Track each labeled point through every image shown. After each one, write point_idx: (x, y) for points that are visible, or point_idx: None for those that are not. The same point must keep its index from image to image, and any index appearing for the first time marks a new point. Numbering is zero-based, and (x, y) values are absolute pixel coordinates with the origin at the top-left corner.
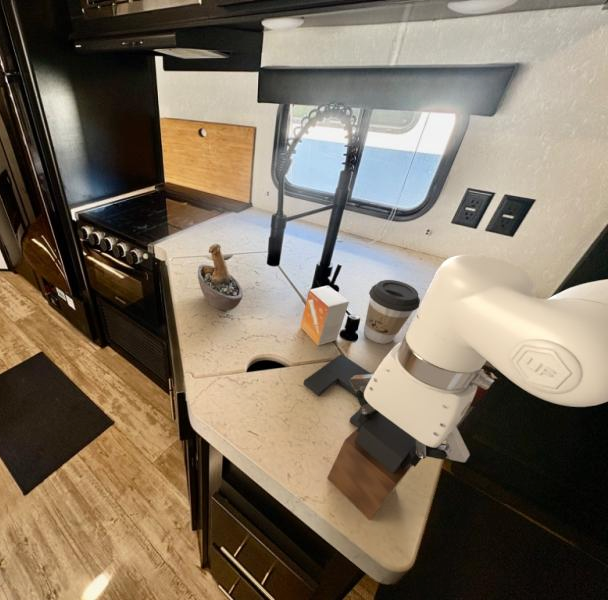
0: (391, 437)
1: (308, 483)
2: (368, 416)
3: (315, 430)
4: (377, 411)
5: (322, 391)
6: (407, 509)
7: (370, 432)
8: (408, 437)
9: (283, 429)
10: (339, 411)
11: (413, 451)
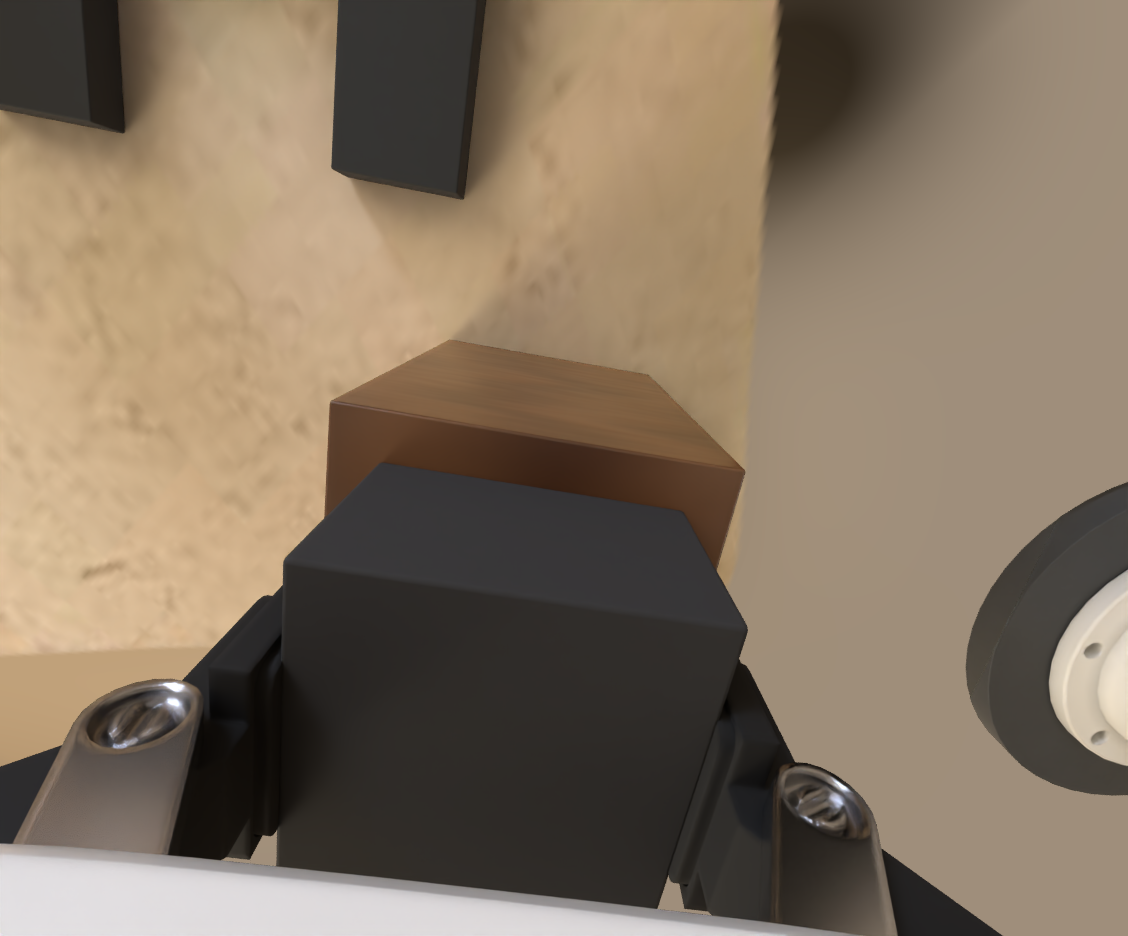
0: (510, 847)
1: None
2: (244, 832)
3: (265, 363)
4: (278, 687)
5: (104, 87)
6: (707, 423)
7: None
8: (630, 760)
9: (168, 466)
10: (274, 147)
11: (700, 887)
